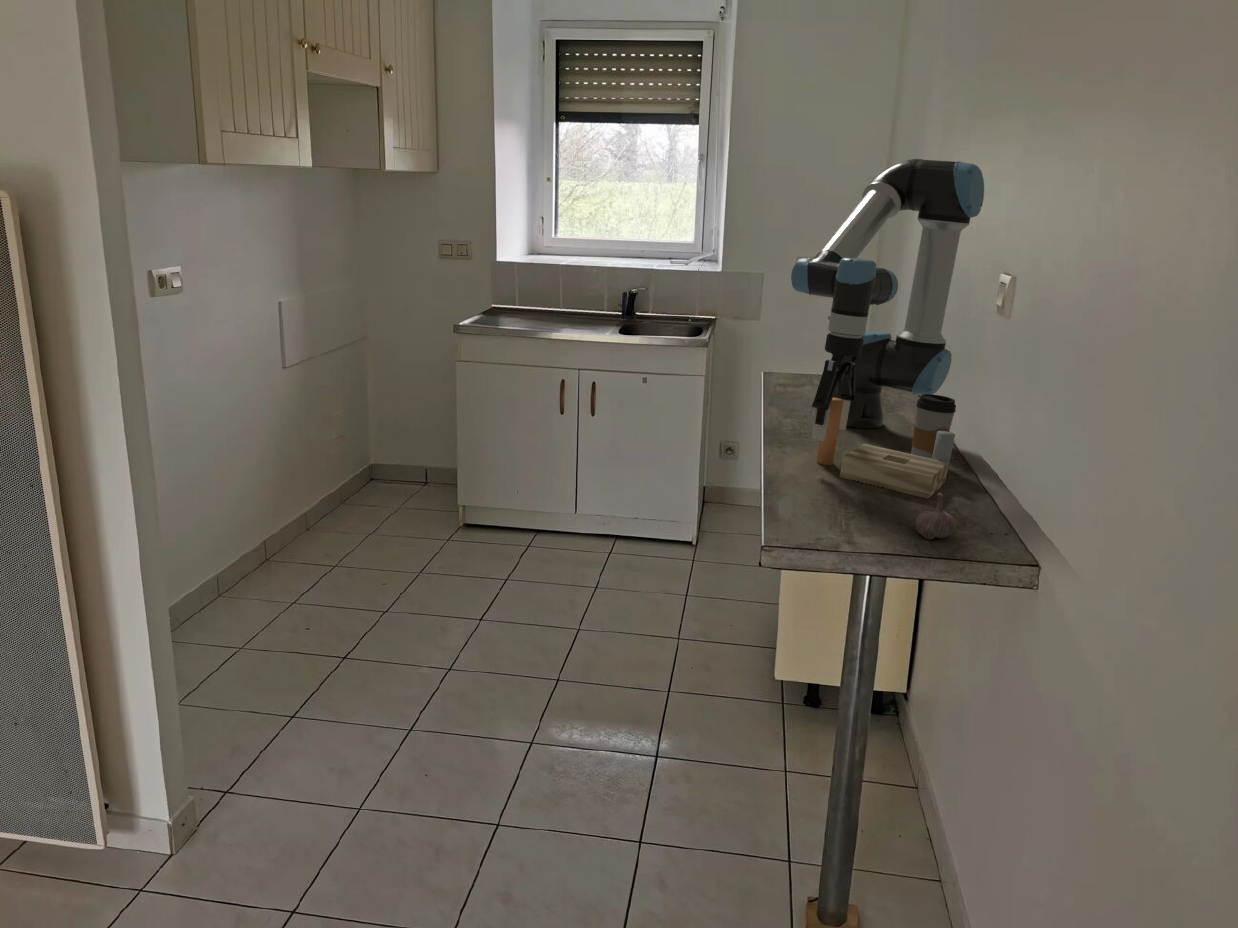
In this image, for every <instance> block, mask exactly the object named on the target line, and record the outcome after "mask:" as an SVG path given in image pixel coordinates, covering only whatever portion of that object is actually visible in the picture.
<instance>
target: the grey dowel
mask: <svg viewBox="0 0 1238 928" xmlns="http://www.w3.org/2000/svg"><path fill="white" fill-rule="evenodd" d="M955 438H956V434H955V433H953V432H951V431H950V432H947V431H937V435H936V440H935V445H934V450H933V455H932V459H935V460H940V461H944V462H949V463H948V468H947V473H946V478H945V482H946V481H947V477H948V471H949V466H950V462H951V458H952V452H953V447H954V442H955Z"/></svg>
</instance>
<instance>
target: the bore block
mask: <svg viewBox="0 0 1238 928" xmlns="http://www.w3.org/2000/svg"><path fill="white" fill-rule="evenodd" d="M948 463H949V464H950V462H944V461H940V460H935V459H931V458H926V457H922V456H917V455H913V454H911V453H908V452H902V451H899V450H894V449H890V448H885V447H882V446H881V447H880V446H875V445H872V444H868V443H863V444H861V445H859V446H857V447H856V448H855V449H852V450H851V451H849V452H848V453H846V454H845V455H842V461H841V466H840V473H839V478H841V479H845V480H849V481H853V480H856V481H855V482H857V481H860V482H859V483H861V482H865V483H868V484H867V485H869V484H872V485H871V486H873V485H876V486H875V487H877V486H879V487H878V488H881V487H884V488H883V489H886V488H887V489H886V490H890V489H891V490H890V491H894V490H895V491H894V492H899V493H902V494H906V495H910V496H913V497H919V498H923V499H928V500H929V498H931V497H932V496H933V494H935V493H936V492H937V491H938V490H939V489H940V488H941V487H942V486H943V485H944V484H945V482H946V481H945V478H946V479H947V477H946V473H947V474H948V472H947V468H948V469H949V467H948ZM865 483H864V484H865Z"/></svg>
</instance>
